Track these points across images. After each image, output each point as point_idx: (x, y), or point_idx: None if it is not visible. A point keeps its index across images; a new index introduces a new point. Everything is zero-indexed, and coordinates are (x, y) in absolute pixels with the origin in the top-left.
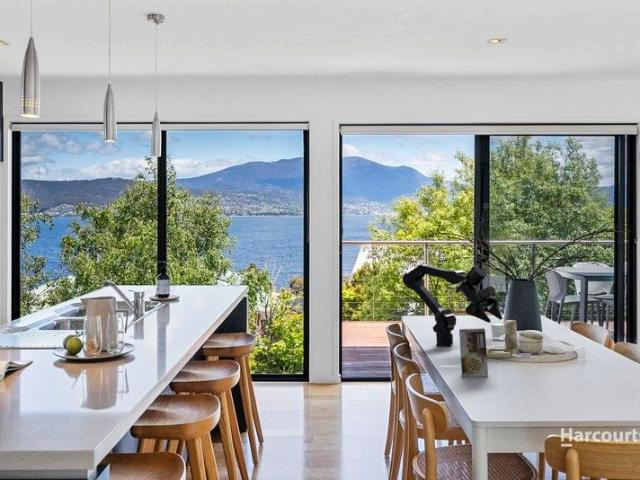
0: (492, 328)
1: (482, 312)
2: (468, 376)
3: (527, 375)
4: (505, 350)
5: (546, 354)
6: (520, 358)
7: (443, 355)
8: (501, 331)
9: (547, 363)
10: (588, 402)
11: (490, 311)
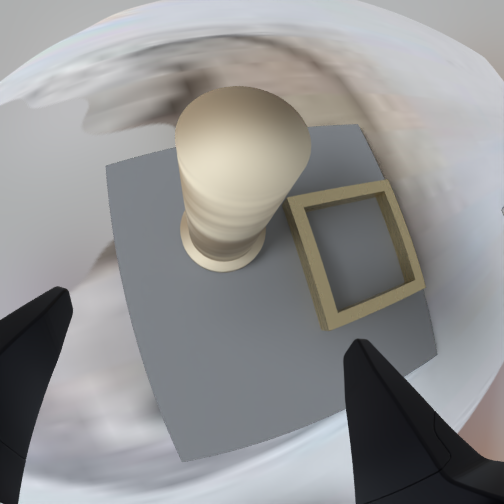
0: None
1: (462, 441)
2: None
3: (467, 127)
4: (309, 231)
5: None
6: (371, 151)
7: None
8: None
9: (358, 85)
10: (484, 73)
11: (8, 477)
